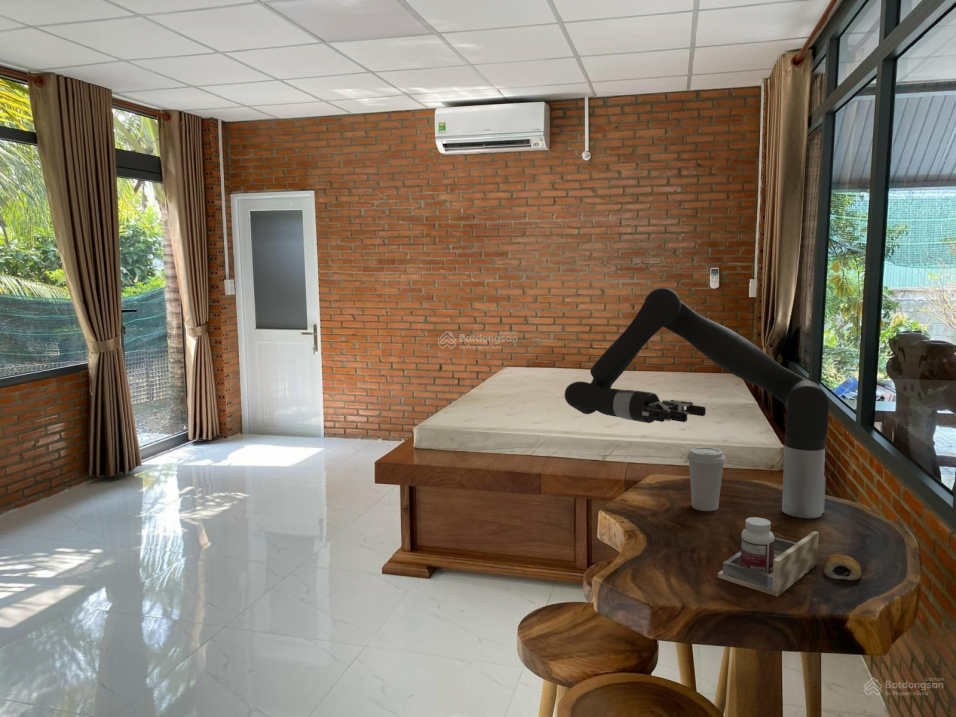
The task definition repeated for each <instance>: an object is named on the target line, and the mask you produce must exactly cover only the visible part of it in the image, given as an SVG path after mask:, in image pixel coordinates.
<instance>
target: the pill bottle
mask: <svg viewBox="0 0 956 717" xmlns="http://www.w3.org/2000/svg"><path fill="white" fill-rule="evenodd" d="M744 525H745V528H744V529H743V530H742V532H741V535H740V537H741V538H740V540H741V541H740V542H741V543H740V551H741V566H744V567H747V568H751V569H754V570H758V571H761V572H764V573H768V574H771V573H772V572H773V562H774V537H775V535H774V534H773V532H772V531H771V525H772V523H771V521H770V520H769V519H766V518H763V517H755V516H754V517H751V516H750V517H748V518H746V519H745V524H744Z"/></svg>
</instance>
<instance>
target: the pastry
mask: <svg viewBox="0 0 956 717" xmlns="http://www.w3.org/2000/svg"><path fill="white" fill-rule="evenodd" d="M823 565H824V566H823V567H824V569H823V573H824V575H825V576H826V577H827V578H830V579H834V580H835V579H836V580H845V581H857V580H858V579H860V578H861V576H862V575H863V574H862V570H861V569H862V568H861V566H860V564H859V563H858V561H857V560H855V559H854V558H853V557H852V556H850V555H845V554H843V553H840V552H839V553H835V554H830V555H828V556H827V557H826V558H825V560H824V562H823Z"/></svg>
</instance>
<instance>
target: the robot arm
mask: <svg viewBox="0 0 956 717" xmlns="http://www.w3.org/2000/svg"><path fill="white" fill-rule="evenodd" d="M663 328H664V329H667V330H668V331H670V332H672V333H674V334H676V335H677V336H680V337H681V338H682V339H684V340H685V341H686V342H688V343H690V345H692V346H693V347H694V348H695V349H696V350H698V351H699V352H700V353H701V354H702V355H703V356H705V357H706V358H708V359H709V360H710V361H711V362H713V363H714V364H716V365H717V366H719V367H721V368H722V369H723V370H725V371H726V372H728V373H730V374H732V375H733V376H734V377H738V378H739V379H742V380H743V381H745V382H748V383H751V384H753V385H754V386H755V385H756V386H758V387H760V388H762V389H763V390H765V391H766V392H767V393H769V394H771V395H772V396H773V397H774V398H776V399H777V400H778V401H779V402H780V403H782V404H784V406H785V407H786V428H785V434H784V446H783V447H784V449H783V451H784V453H783V456H784V457H783V475H782V478H783V479H782V499H781V501H782V503H781V504H782V506H781V509H782V510H781V511H782V513H784V514H786V515H788V516H791V517H795V518H801V519H817V518H820V517H822V515H823V513H825V501H826V498H825V497H826V480H827V478H826V475H825V458H826V457H825V456H826V443H827V442H826V441H827V438H828V437H827V436H828V429H829V428H828V427H829V415H830V414H829V412H830V400H829V397H828V395H827V393H826V392H825V391H824V389H823V388H822V387H821V385H819V384H817V383H815V382H814V381H811V380H809V379H807V378H805V377H803V376H801V375H798V374H797V373H796V372H793V371H792V370H789V369H788V368H786V367H784V366H783V365H781V364H780V363H778V362H777V361H776V360H775V359H773V358H772V357H771V356H770V355H769V354H767V353H766V352H765V351H763V350H762V348H759V346H757V345H755V344H754V343H753V342H751V341H750V340H748V339H746V338H745V337H744V336H742V335H740V334H738V333H737V332H735V331H734V330H732V329H730V328H729V327H726V326H724V325H722V324H720V323H718V322H715V321H713V320H712V319H708V318H707V317H704V316H703V315H701V314H700V313H698V312H696V311H694V310H693V308H691V307H689V306H688V305H687V304H686V303H684V302H683V301H682V300H680V297H679V295H678V294H677V293H676V292H675V291H674V290H672V289H670V288H666V287H660V288H655V289H654V290H653V289H652V291H651V292H649V293H648V294H647V295H646V297H645V300H644V302H643V304H642V306H641V307H640V309H639V311H638V312H637V314H635V317H634V318H633V320H631V322H630V323H629V325H628V327H627V328H626V329H624V331H623V332H622V333H621V334H620V336H619V337H617V339H615V341H614V342H613V343H612V344H611V345H610V346H609V347H608V348H607V349H606V350H605V351H604V352H603V354H602V355H601V356H600V357H599V358H598V360H597V361H595V363H594V364H593V365H592V367H591V368H590V370H589V371H590V375H591V377H592V378H593V379H592V380H591V382H587V381H586V382H585V381H574V382H572V383H570V384H568V386H567V387H566V388H565V390H564V400H565V402H566V403H567V404H568V405H569V406H570V407H572V408H574V409H575V410H577V411H578V412H580V413H581V414H584V415H590V414H593V413H595V412H596V411H597V412H598V413H600V414H603V415H606V416H610V417H617V418H621V419H625V420H627V421H628V420H629V421H635V422H641V423H647V424H652V423H654V422H655V421H656V422H660V423H663V422H665V421H667V422H670V421H673V422H681V423H686V422H688V415H691V416H699V417H705V416H706V414H707V413H706V412H707V411H706V410H707V409H706V407H705V406H702V405H701V406H700V405H695V404H694V403H693V402H691V401H684V400H683V401H682V400H676V399H669V400H665V399H663V400H660V399H659V396H658V395H657V394H656V393H654V392H650V391H643V390H633V389H617V388H612V386H613V384H614V383H615V382H616V381H617V380H618V379H619V378H620V376H621V375H622V374H623V373H624V372H625V371H626V369H628V367H629V366H630V365H631V364H632V362H633V360H634V359H636V356H637V355H638V354H639V352H640V351H641V350H642V348H643V347H644V346H645V345H646V344H647V343H648V341H650V339H651V338H652V337H653V336H654V335H655V334H656V333H658V332H659V331H660V330H661V329H663ZM685 408H686V409H685Z"/></svg>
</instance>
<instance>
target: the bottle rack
mask: <svg viewBox="0 0 956 717" xmlns="http://www.w3.org/2000/svg"><path fill="white" fill-rule="evenodd" d="M819 534H820V532H819V531H815V530H814V531H812V532H810V533H809V534H808V535H806V536H805V537H803V538H802V539H801V540H799V541H798V542H796V541H791V540H787V539H784V538H780V537H776V536H774V562H773V572H772V573H771V574H768V573H764V572H761V571H758V570H754V569H751V568H747V567H744V566H741V550H740V551H739V552H737V553H735V554H734V555H732V556H731V557H729V558H727V559H726V560H724V561H723V562H722V569H721V570H720V571H719V572H717V578H718V579H722V580H725V581H728V582H731V583H734V584H737V585H740V586H743V587H747V588H749V589H753V590H756V591H758V592H763V593H765V594H768V595H770V596H775V597H777V598H778V597H779V596H780V595H782V594H783V593H784V592H785V591H786V590H788V589H789V588H790V587H791V586H793V585H794V584H795V583H796V582H797V581H798V580H800V579H801V578H802V577H803V576H805V575H806V574H808V573H809V572H810V571H811V570H812V569H813V568H814V566H815V565H816V564H817V565H818V558H819V557H818V556H819V537H820V536H819ZM817 565H816V566H817ZM816 566H815V567H816ZM811 568H812V569H811ZM810 569H811V570H810ZM809 570H810V571H809ZM805 573H806V574H805ZM804 574H805V575H804Z"/></svg>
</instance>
